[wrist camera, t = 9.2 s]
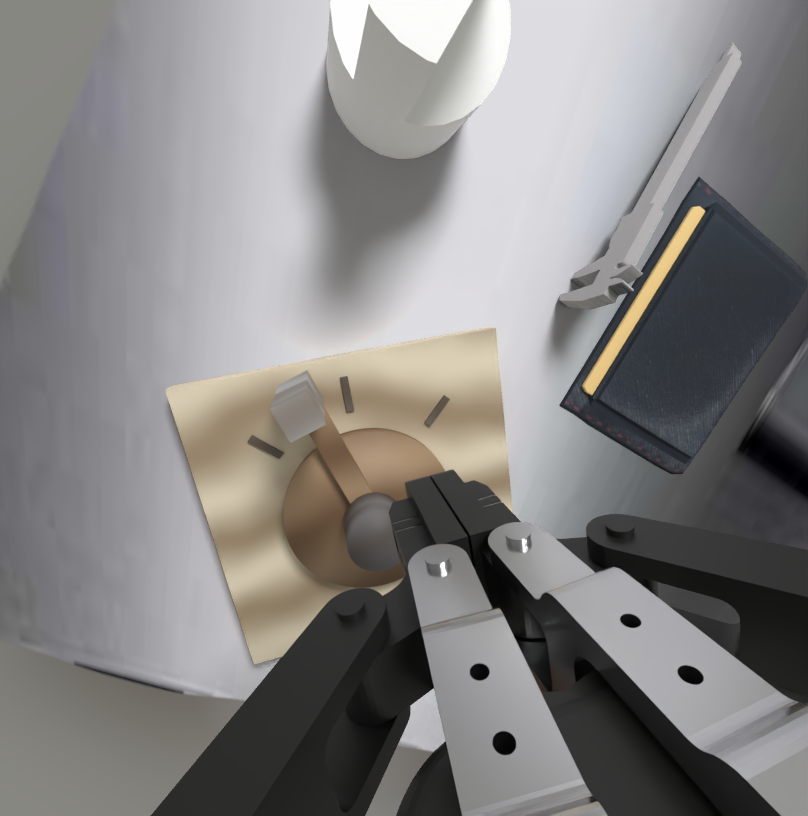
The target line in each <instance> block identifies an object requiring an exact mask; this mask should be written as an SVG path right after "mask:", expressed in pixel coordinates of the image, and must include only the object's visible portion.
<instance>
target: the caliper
mask: <svg viewBox="0 0 808 816" xmlns="http://www.w3.org/2000/svg"><path fill="white" fill-rule="evenodd" d="M740 56H741V53H740V52H739V50H738V49H737V48H736V47H735V45H734V44H733V43H731V44H730V45H729V46H728V47H727V49H726V51H725V52H724V54H723V56H722V58H721V60H720V61H718V62H717V64H716V65H715V66H714V68H713V69H712V71H711V72H710V74H709V75H708V77H707V78H706V80H705V81H704V83H703V84H702V86H701V88H700V90H699V92H698V93H697V95H696V97H695V99H694V101H693V103H692V104H691V106H690V108H689V110H688V112H687V113H686V115H685V117H684V119H683V121H682V123H681V124H680V126H679V128H678V130H677V132H676V134H675V135H674V137H673V139H672V141H671V143H670V144H669V146H668V148H667V150H666V152H665V153H664V155H663V157H662V159H661V161H660V162H659V164H658V166H657V168H656V170H655V171H654V173H653V175H652V177H651V179H650V180H649V182H648V184H647V186H646V188H645V189H644V191H643V193H642V195H641V197H640V198H639V200H638V202H637V204H636V206H635V207H634V209H633V211H632V213H630V214H627V215H625V216H624V217H622V219H621V220H620V222H619V225H618V228H617V230H616V231H615V232H614V233H613V235H612V237H611V240H610V244H609V249H608V251H607V253H606V254H605V256H603V257H601V258H599V259H598V260H596V261H594V262H593V263H591V264H589V265H588V266H586V267H584V268H583V269H581V270H579V271H578V272H576V273H575V274H574V275H573V276H572V278H571V280H572V281H573V282H574V283H575V284H577V285H578V286H579V287H582V286H586V287H583V288H580V289H577V290H574V291H571V292H568V293H564V294H561V295H560V297H559V300H560V301H561V302H562V303H563V304H565V305H566V306H567V307H568V308H576V309H594V308H597V307H601V306H605V305H608V304H612V303H615V301H616V299H617V297H618V296H619V295H621V294H625V293H629V292H633V291H634V289H633V288H632V287H630V286H629V285H628V283H630V282H632V281H634V280H635V279H637V278H638V277H640V276H641V275H642V274H643V273H642V272H641V271H640V270H638V269H637V268H636V267H635V266H636V265H637V263H638V261H639V259H640V257H641V255H642V253H643V251H644V250H645V248H646V246H647V244H648V242H649V240H650V238H651V236H652V235H653V233H654V231H655V229H656V227H657V225H658V223H659V222H660V220H661V218H662V216H663V214H664V212H663V211H662V208H663V206H664V204H665V202H666V201H667V199H668V197H669V195H670V193H671V191H672V190H673V188H674V186H675V184H676V182H677V181H678V179H679V177H680V175H681V173H682V171H683V170H684V168H685V166H686V164H687V162H688V161H689V159H690V157H691V155H692V153H693V151H694V150H695V148H696V146H697V144H698V142H699V140H700V139H701V137H702V135H703V133H704V131H705V130H706V128H707V126H708V124H709V122H710V120H711V119H712V117H713V115H714V113H715V111H716V109H717V108H718V106H719V104H720V102H721V100H722V98H723V97H724V95H725V93H726V91H727V89H728V87H729V86H730V84H731V82H732V80H733V78H734V76H735V75H736V73H737V71H738V69H739V67H740V65H741V64H742V62H741V60H740V59H739V58H740ZM591 284H592V285H591ZM587 285H589V286H587Z"/></svg>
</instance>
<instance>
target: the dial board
mask: <svg viewBox="0 0 808 816" xmlns="http://www.w3.org/2000/svg"><path fill="white" fill-rule="evenodd" d="M306 370H308V372H309V374H310V376H311V377H312V379H313V381H314V383H315V385H316V386H317V388H318V390H319V392H320V393H321V395H322V397H323V404H324V407H325V409H326V410H327V412H328V414H329V416H330V418H331V419H332V421H333V423H334V425H335V426H336V428H337V430H338V432H339V433H340V434H342V433H345V432H348V431H352V430H357V429H363V428H384V429H390V430H395V431H398V432H401V433H404V434H407V435H409V436H411V437H413V438H415V439H416V440H418V441H419V442H421V443H422V444H424V445H425V446H426V447H427V448H428V449H429V450H430V451H431V452H432V453H433V454H434V456H435V457H436V458H437V459H438V461H439V462H440V463H441V465H442V466H443V468H444V470H445V471H448V470H452V469H453V470H454V471H455V472H456V473H457V474H458V476H459V477H460V478H461V479H462V481H463V482H464V483H465V482H469V481H473V480H475V481H478V482H480V483H482V484H485V485H487V486H488V487H489V488H490V489H491V490H492V491H493V492H494V493H495V496H497V497H498V498H499V499H500V500H501V502H503V503H504V504H505V505H506V506H507V507H508V509H509V510H510V511H511V512H512V513H513V511H512V500H511V489H510V478H509V467H508V457H507V446H506V435H505V424H504V414H503V403H502V392H501V381H500V370H499V360H498V349H497V338H496V328H491V327H484V328H478V329H473V330H468V331H462V332H457V333H451V334H446V335H441V336H435V337H430V338H424V339H419V340H414V341H408V342H403V343H398V344H392V345H387V346H381V347H376V348H371V349H365V350H360V351H354V352H349V353H344V354H338V355H333V356H327V357H322V358H317V359H311V360H306V361H301V362H295V363H290V364H284V365H279V366H274V367H268V368H263V369H257V370H252V371H247V372H241V373H236V374H230V375H225V376H220V377H214V378H209V379H204V380H198V381H193V382H187V383H182V384H177V385H172V386H171V387H169V388H168V389H166V390H165V391H166V394H167V397H168V400H169V403H170V407H171V410H172V413H173V416H174V419H175V422H176V425H177V428H178V431H179V434H180V437H181V441H182V444H183V447H184V450H185V453H186V456H187V459H188V462H189V465H190V468H191V472H192V475H193V478H194V481H195V484H196V487H197V490H198V493H199V496H200V499H201V502H202V506H203V509H204V512H205V515H206V518H207V521H208V524H209V527H210V530H211V533H212V537H213V540H214V543H215V546H216V549H217V552H218V555H219V558H220V561H221V564H222V567H223V571H224V574H225V577H226V580H227V583H228V586H229V589H230V592H231V595H232V598H233V602H234V605H235V608H236V611H237V614H238V617H239V620H240V623H241V626H242V629H243V632H244V636H245V639H246V642H247V645H248V648H249V651H250V654H251V657H252V660H253V663H254V665H255V664H258V663H261V662H265V661H268V660H272V659H275V658H279V657H282V656H283V655H284V654H285V653H286V652H287V650H288V649H289V648H290V647H291V646H292V644H293V643H294V642H295V641H296V640H297V638H298V637H299V636H300V635H301V634H302V632H303V631H304V630H305V629H306V627H307V626H308V625H309V624H310V623H311V621H312V620H313V619H314V618H315V617H316V615H317V614H318V613H319V612H320V611H321V609H322V608H323V607H324V606H325V605H326V604H327V603H328V601H330V600H331V599H332V598H333V597H335V596H337V595H338V594H340V593H342V592H345V591H347V590H351V589H355V587H346V586H342V585H337V584H334V583H331V582H328V581H326V580H324V579H322V578H320V577H318V576H316V575H315V574H314V573H312V572H311V571H309V570H308V569H307V568H306V567H305V566H304V565H303V564H302V563H301V562H300V561H299V560H298V558H297V557H296V556H295V554H294V553H293V551H292V549H291V547H290V545H289V543H288V540H287V537H286V533H285V529H284V519H283V514H284V503H285V497H286V493H287V488H288V486H289V483H290V481H291V478H292V476H293V475H294V473H295V471H296V469H297V468H298V467H299V465H300V464H301V463H302V461H303V460H304V459H305V458H306V457H307V456H308V455H309V454H310V453H311V452H312V451H313V450H314V449H316V448H317V447H316V445H315V443H314V442H313V440H312V438H311V437H310V435H309V434H307V435H305V436H303V437H301V438H299V439H297V440H296V441H294V442H292V443H290V442H289V440H288V438H287V437H286V435H285V433H284V432H283V430H282V429H281V427H280V425H279V424H278V422H277V420H276V419H275V417H274V415H273V414H272V412H271V411H270V408H271V405H272V402H273V399H274V396H275V393H276V390H277V388H278V385H279V384H281V383H283V382H285V381H287V380H289V379H291V378H293V377H295V376H297V375H299V374H301V373H302V372H304V371H306ZM402 580H403V578H402V579H399V580H397V581H394V582H392V583H389V584H385V585H381V586H376V587H367V588H370V589H373V590H375V591H377V592H379V593H380V594H381V595H382V596H383V595H385V594H386V593H388V592H390V591H391V590H393V589H394V588H395V587H396V586H398V585H399V583H400V582H401V581H402Z"/></svg>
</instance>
